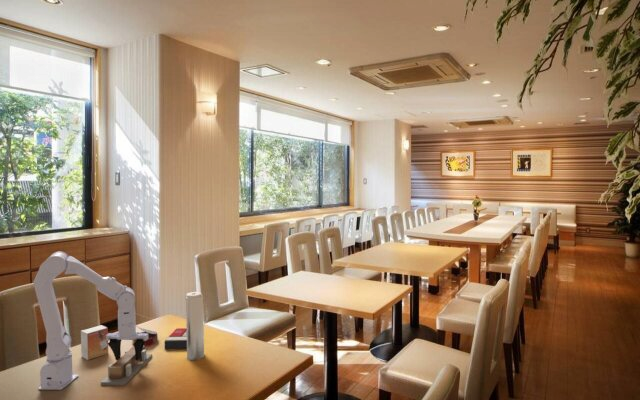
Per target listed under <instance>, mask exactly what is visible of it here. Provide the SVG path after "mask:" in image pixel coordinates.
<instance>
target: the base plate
mask: <svg viewBox="0 0 640 400" xmlns="http://www.w3.org/2000/svg"><path fill="white" fill-rule="evenodd" d="M129 350H130V349H126V350H125V351H124V354H125V353H126V352H127V351H129ZM141 357H142V359H141V360H140V361H139V362H138V363H137V364H136V365H135V366H134V367H133V368H132V369H131V364H128V365H127V366H126V375H125V376H124V377H123V378H122V379H110V374H109V368H110V367H111V366H112V365H113V364H114V363H110V364H109V365H108V366H107V376H106V377H105V378H104V379H102V381H100V386H125V385H126V384H127V383H128V382H130V380H131V379H132V378H133V377H134V376H135V375H136V374H137V373H138V372H139V371H140V370H141V369H142V368H143V367H144V366H145V365H146V364H147V363H148V362H149V360H150V359H151V358H152V357H153V354H152V353H147V349H145V350H143V351H142V352H141Z"/></svg>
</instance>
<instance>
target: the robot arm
mask: <svg viewBox="0 0 640 400" xmlns="http://www.w3.org/2000/svg"><path fill="white" fill-rule="evenodd" d="M64 271H65V272H64ZM63 272H64V275H72V274H73V275H74V274H75V275H77V276H79V277H81V278H83V279H84V280H86V281H88V282H90V283H92V284H93V285H95V286H96V289H97V291H98V292H100V294H103V295H105V296H106V297H108V299H111V300H113V301H115V302H116V304H117V309H118V310H117V331H118V332H113V333H112V332H111V333H109V332H108V334H107V335H106V341H108V348H110V349H111V351H112V353H113V355H114V359H115V361H117V360H119V359H120V358H121V357H122V355H121V351H122V350H121V346H122V345H121V344H122V341H132V340H136V341H135V342H134V343H133V344H132V346H133V345H134V348H135V359H136V361H138V360H139V359H140V356H141V351H142V348H143V345H144V343H145V341H146V340H147V339H148V334H147V333H140V332H141V331H140V332H138V331H137V324H136V308H135V307H136V304H135V302H136V294H135V291H134V290H133V289H132V287H129V286H127V285H123V284H122V283H120V282H118V281H117V280H116V277H113V276H112V277H111V276H102V275H100V274H99V273H97V272H96V271H94V270H93V269H92V268H90V267H89V266H88V265H86V264H84V263H83V262H81V261H80V260H79V259H78V258H75V257H74V256H71V255H69V254H68V253H66V252H64V251H55V252H54V253H51V254H50V255H49V256H48V258H46V259H45V260H44V261H43V262H42V263H41V264H40V265H39V269H38V271H37V273H36V276H35V278H34V280H33V286H34V291H35V295H36V298H37V302H38V306H39V309H40V313H41V317H42V321H43V324H44V325H43V326H44V329H45V333H46V337H45V338H46V339H45V341H46V342H45V343H46V349H45V355H46V361H45V364H43V366H42V367H41V368H40V371H39V377H40V379H39V380H40V386H39V387H38V390H50V391H51V390H52V391H53V390H55V391H56V390H59V391H61V390H63V389H64V388H65V387H67V386H68V385H69V384H71V383H72V382H73V381H74V380H76V379H77V378H78V377H79V374H74V373H73V352H72V350H70V346H71V345H72V337H71V335H70V334H69V333H68V332H67V330H66V327H65V326H64V324H63V321H62V315H61V312H60V309H59V305H58V301H57V298H56V297H57V296H56V293H55V289H54V286H53V282H54V280H55V279H56V277H58V276H59V275H60V274H62V273H63Z"/></svg>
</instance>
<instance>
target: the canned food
mask: <svg viewBox="0 0 640 400" xmlns="http://www.w3.org/2000/svg"><path fill="white" fill-rule="evenodd" d="M137 328H138V329H140V330H141V331H140V333H147V334H148V339H147V340H146V341H145V343H144V345H143V346H145V347H150V346H152V345H155V344H156V343H157V342H158V332H157V331H153V330H150V329H145V328H143V327H139V326H137ZM131 341H132V344H131V345H132V347H133V346H134V345H133V343H134V342H135V341H136V340H131Z"/></svg>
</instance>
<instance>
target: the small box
mask: <svg viewBox="0 0 640 400" xmlns="http://www.w3.org/2000/svg"><path fill="white" fill-rule="evenodd" d="M107 334H109V329H108V327H107V326H105V325H102V324H100V325H98V326H93V327H91V328H90V327H89V328H87V329H82V330H80V348H81V349H80V350H81V353H80V354H81V357H82V358H83V359H84V360H87V361H90V360H92V359H96V358H98V357H101V356H104V355H108V354H109V345H108V343H109V341H106V335H107Z"/></svg>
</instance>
